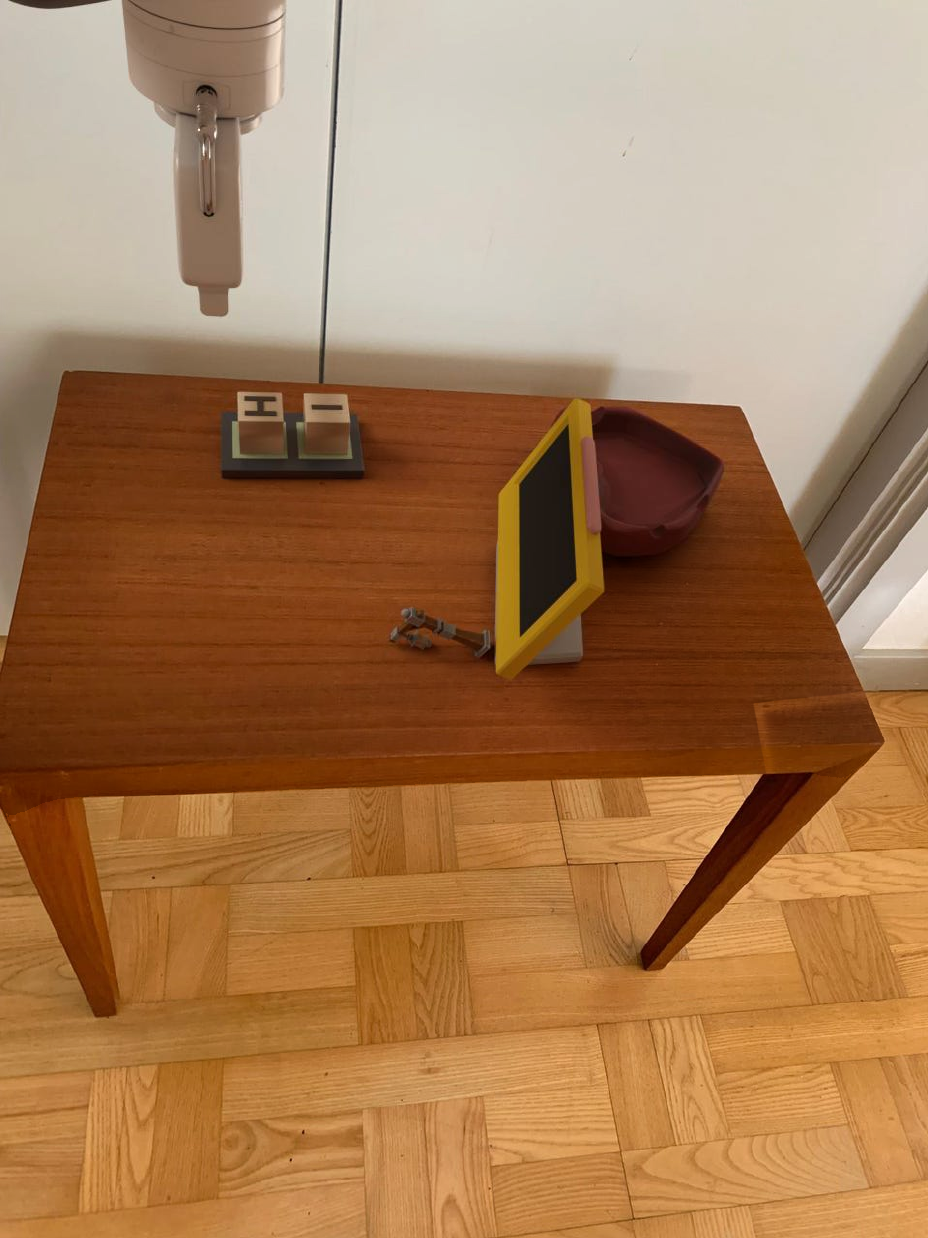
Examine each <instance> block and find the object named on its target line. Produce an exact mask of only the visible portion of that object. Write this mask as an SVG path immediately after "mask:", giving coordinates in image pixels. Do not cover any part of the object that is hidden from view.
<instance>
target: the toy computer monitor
mask: <svg viewBox="0 0 928 1238" xmlns="http://www.w3.org/2000/svg"><path fill="white" fill-rule="evenodd" d="M566 407H567V409H566V410H565V411H564V413H563V414H562V415H561V416H560V418H559V419H558V420H557V421H556V423H555V424H554V425H553V426H552V428H551V427H550V428H551V429H550V428H549V430H548V432H546V434H545V435H543V438H542V439H541V440H540V441H539V443H538V444H537V445H536V446H535V448H534V449H533V450H532V452H531V453H530V454H529V455H528V456H527V458H526V459H525V460H524V461H523V463H522V464H520V467H519V468H518V469H517V470H516V472H515V473H514V474H513V475H512V476H511V478H510V479H509V481H508V482H506V484H505V486H504V487H503V488H502V489H501V491H500V492H499V493H498V501H497V502H498V503H497V504H498V509H497V512H498V514H497V515H498V516H497V541H496V544H495V547H496V548H495V549H496V550H495V602H494V605H495V606H494V653H493V654H494V655H493V657H494V658H493V659H494V661H493V663H494V666H495V674H496V675H497V676H499V677H502V678H504V679H507V680H510V681H512V680H513V679H514V678H516V676H517V675H518V674H519V673H521V672H522V671H523V670H524V669H525V668H526V667H527V666H530V665H546V664H547V665H548V664H561V663H562V664H564V663H565V664H566V663H578V662H580V661H581V660H582V657H583V655H584V647H583V630H582V613H583V612H584V611H586V610H587V609H588V608H589V607H590V606H591V605H592V604H593V603H594V602H595V601H596V600H597V599H598V598H599V597H600V596H601V595H602V594H603V593H605V581H604V580H605V579H604V568H603V554H602V553H601V540H600V532H601V516H600V503H599V490H598V477H597V464H596V451H595V442H594V440H593V434H592V421H591V412H592V410H591V404H590V403H588V402H586V401H585V400H582V399H581V398H578V397H576V398H573V400H572V401H571V402H570V404H569V405H568V406H566Z"/></svg>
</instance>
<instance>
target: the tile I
mask: <svg viewBox="0 0 928 1238" xmlns="http://www.w3.org/2000/svg"><path fill="white" fill-rule="evenodd" d="M349 407H350V406H349V399H348V394H347V393H315V392H314V393H313V392H311V393H309V392H307V393H303V412H302V413H303V431H304V444H305V454H334V455H347V454H348V447H349V434H350V416H349V414H350V408H349Z"/></svg>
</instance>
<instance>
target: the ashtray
mask: <svg viewBox="0 0 928 1238" xmlns="http://www.w3.org/2000/svg"><path fill="white" fill-rule="evenodd" d="M567 407H568V406H565V407H563V408H562V409H560V410H559V412H558V413H557V414H556V416H555V418H554V419H553V422H552V423H551V424H550V428H549V430H550V429H551V428H552V426H553V425H554V424H555V423H556V421H557V420H558V419H559V418H560V416H561V415H562V414H563V413H564V411H565V410H566V409H567ZM591 421H592V434H593V440H594V442H595V451H596V464H597V477H598V490H599V503H600V516H601V532H600V540H601V553H602V556H607V557H645V556H654V555H658V554H661V553H664V552H666V551H668V550H670V549H672V548H674V547H675V546H676V545H678V544H679V543H680V542H682V541H683V540H684V539H685V538H686V537H687V536H688V535H689V533H690V532H691V531H692V529H693V528H694V526H695V525H696V523H697V522H698V521H699V519H700V518H701V517H702V515H703V514H704V512H705V511H706V510H707V509H708V506H709V505H710V503H711V501H712V499H713V497H714V496H715V494H716V492H717V490H718V487H719V486H720V483H721V481H722V478H723V475H724V472H725V463H724V460H722V459H721V457H719V456H718V455H716V453H713V452H712V451H710V450H709V449H707V448H706V447H704V446H702V445H700V444H699V443H697V442H696V441H694V440H692V439H690V438H689V437H687V436H685V435H683V434H681V433H679V432H678V431H676V430H675V429H673V428H670V427H668V425H665V424H663V423H662V422H659V421H658V420H656V419H654V418H652V417H650V416H649V415H646V414H645V413H644V412H641V411H640V410H638V409H635V408H633V407H630V406H627V405H601V406H599V407H597V408H596V409H595V410H591Z"/></svg>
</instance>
